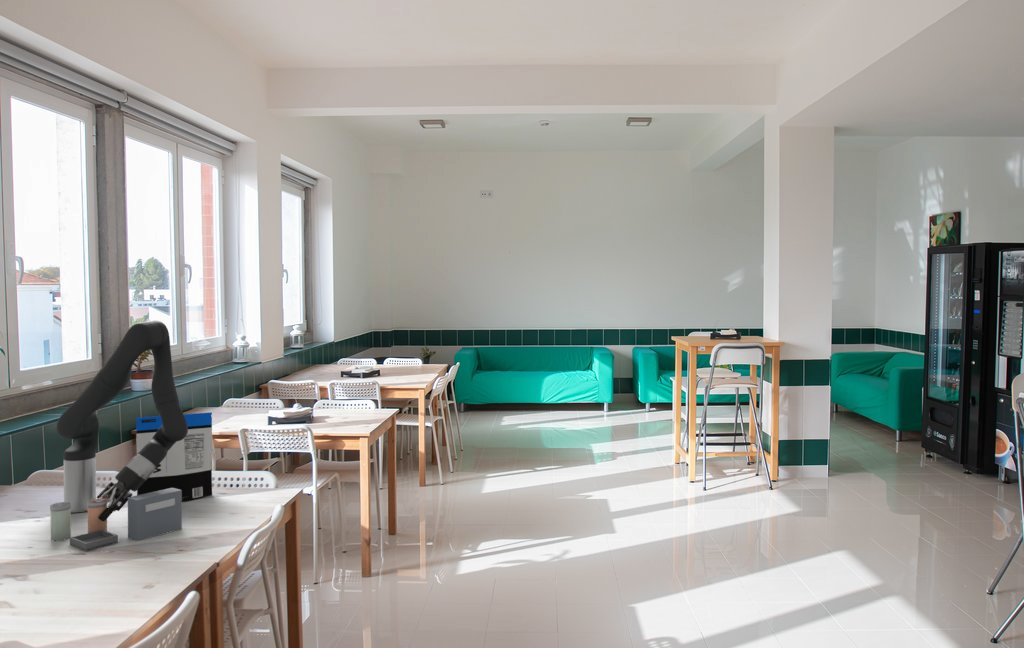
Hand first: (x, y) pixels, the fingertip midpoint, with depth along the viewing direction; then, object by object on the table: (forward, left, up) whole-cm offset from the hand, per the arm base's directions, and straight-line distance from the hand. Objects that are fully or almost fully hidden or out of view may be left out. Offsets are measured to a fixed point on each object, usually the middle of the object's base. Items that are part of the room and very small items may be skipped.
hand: (95, 516), depth 219 cm
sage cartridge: (-5, -8, -5) cm, 11 cm away
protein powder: (-16, +35, -6) cm, 39 cm away
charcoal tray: (+8, -5, -5) cm, 11 cm away
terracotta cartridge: (0, 0, -5) cm, 5 cm away
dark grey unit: (+13, +11, -5) cm, 18 cm away
